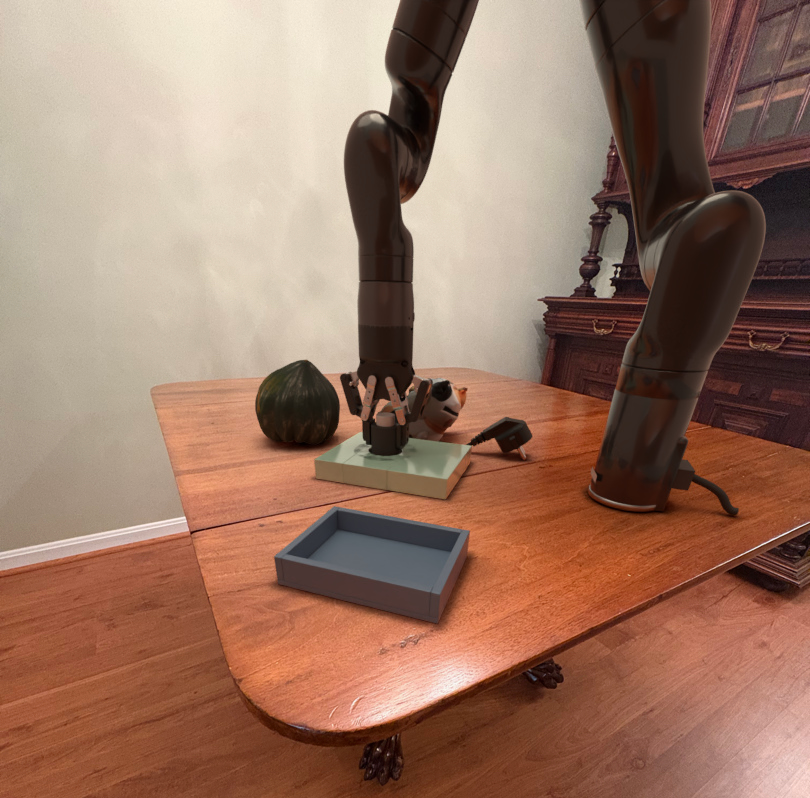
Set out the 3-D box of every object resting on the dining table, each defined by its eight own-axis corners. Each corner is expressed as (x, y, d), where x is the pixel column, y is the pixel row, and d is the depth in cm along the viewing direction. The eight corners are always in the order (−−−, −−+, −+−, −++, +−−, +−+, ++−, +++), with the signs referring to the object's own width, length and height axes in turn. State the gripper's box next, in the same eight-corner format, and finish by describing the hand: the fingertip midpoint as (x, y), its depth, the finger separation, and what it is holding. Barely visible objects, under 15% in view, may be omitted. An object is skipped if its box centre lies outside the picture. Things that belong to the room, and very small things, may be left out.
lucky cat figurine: (416, 424, 91) (452, 365, 84) (449, 459, 86) (490, 400, 79) (364, 413, 80) (400, 345, 73) (398, 453, 75) (440, 383, 68)
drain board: (470, 463, 71) (472, 445, 69) (445, 499, 57) (447, 479, 56) (360, 448, 76) (360, 431, 75) (315, 478, 63) (313, 459, 62)
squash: (252, 401, 82) (248, 342, 69) (328, 400, 88) (339, 346, 74) (261, 465, 78) (260, 417, 65) (341, 461, 84) (355, 415, 70)
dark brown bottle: (403, 466, 69) (404, 412, 64) (393, 475, 65) (394, 419, 61) (378, 462, 70) (377, 410, 66) (367, 471, 66) (365, 416, 62)
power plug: (458, 442, 78) (518, 406, 73) (478, 476, 80) (538, 444, 75) (455, 451, 73) (519, 414, 68) (477, 487, 75) (541, 454, 70)
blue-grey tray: (467, 556, 45) (470, 530, 43) (437, 624, 35) (440, 594, 34) (335, 529, 49) (333, 505, 48) (277, 584, 40) (273, 556, 38)
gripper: (325, 320, 56) (332, 447, 64) (428, 325, 52) (422, 459, 60) (350, 318, 62) (354, 434, 71) (444, 322, 58) (436, 444, 67)
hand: (385, 445), depth 65 cm, fingers closed on dark brown bottle, 4 cm apart
